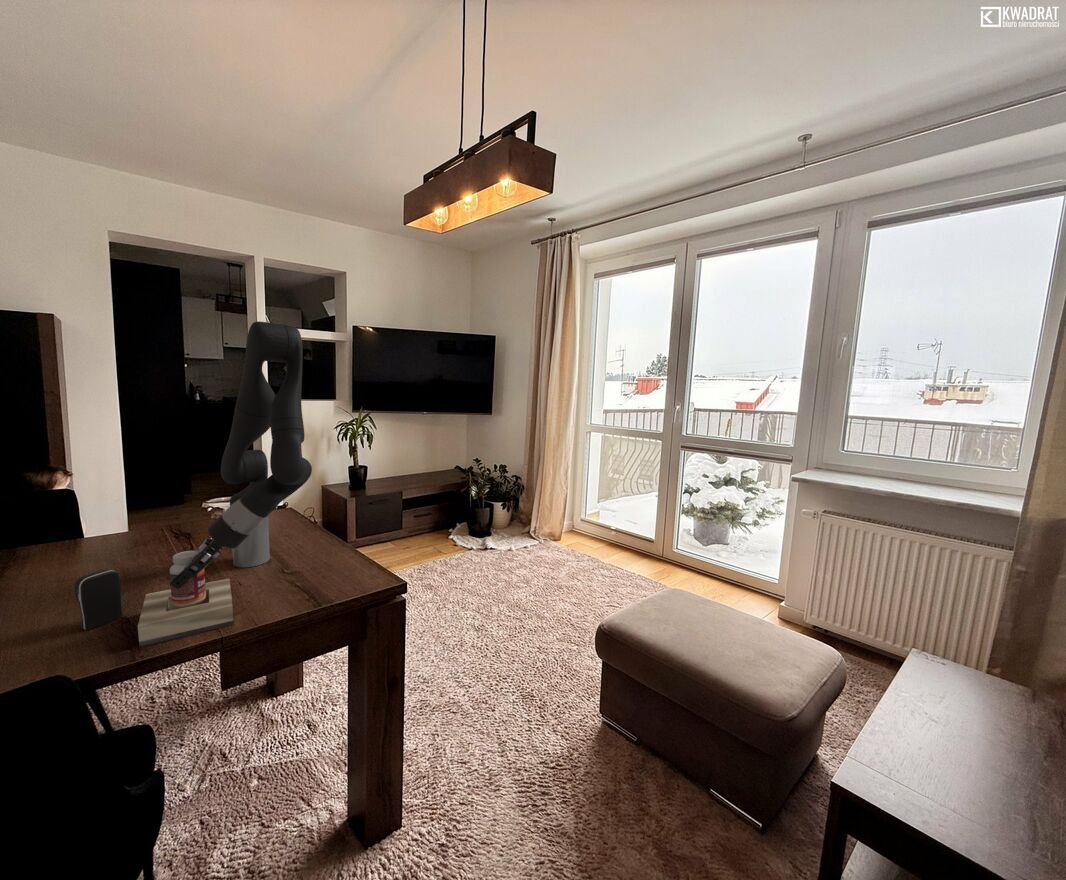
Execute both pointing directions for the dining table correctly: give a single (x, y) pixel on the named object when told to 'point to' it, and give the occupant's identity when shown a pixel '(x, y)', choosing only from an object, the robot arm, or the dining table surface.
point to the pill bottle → (193, 587)
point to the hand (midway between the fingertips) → (178, 579)
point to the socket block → (184, 614)
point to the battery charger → (98, 598)
